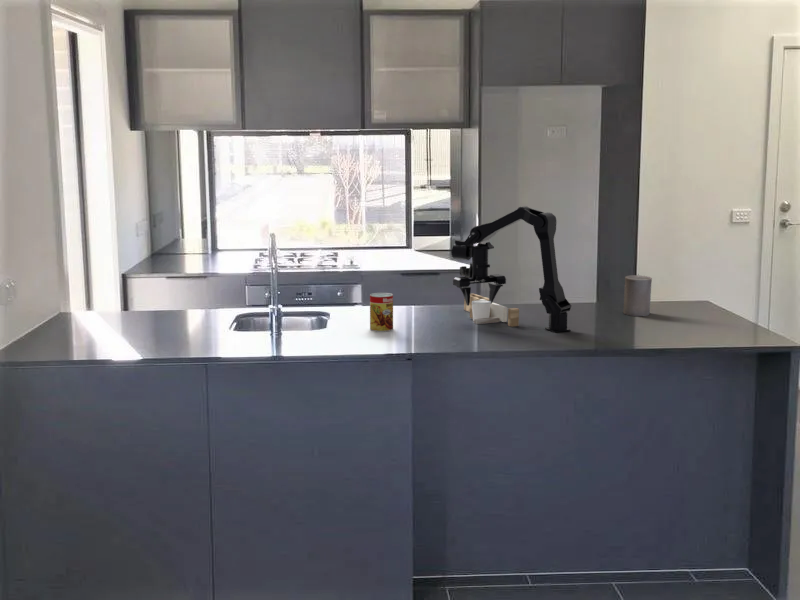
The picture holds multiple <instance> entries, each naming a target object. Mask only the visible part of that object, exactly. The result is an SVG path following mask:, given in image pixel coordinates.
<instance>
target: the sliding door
mask: <svg viewBox="0 0 800 600" xmlns="http://www.w3.org/2000/svg"><path fill="white" fill-rule="evenodd" d="M480 300H484V299H480ZM486 301H487V300H486ZM494 317H498V318H499V322H501V323H502V322H503V323H508V307H507V306H506V305H505V306H504V305H502V304H498V303H496V302H492V304H491V307H490V316H489V318H494ZM469 318H470V319H472V320H473V313H472V308H470V312H469Z"/></svg>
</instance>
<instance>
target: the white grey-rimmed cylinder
mask: <svg viewBox="0 0 800 600" xmlns="http://www.w3.org/2000/svg"><path fill="white" fill-rule="evenodd" d="M490 307H491V302H490V301H486V300H475V301H472V313H473V319H472V322H474V319H483V318H490V317H489V316H490Z"/></svg>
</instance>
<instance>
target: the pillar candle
mask: <svg viewBox="0 0 800 600" xmlns="http://www.w3.org/2000/svg"><path fill="white" fill-rule="evenodd" d="M652 280H653V278H652V277H650V276H648V275H639V273H637V275H636V274H635V275H634V274H633V275H632V274H631V275H626V276H625V277H624V293H623V308H622V309H623V311H622V313H623V314H624V315H627V316H630V317H631V316H632V317H633V316H634V317H647V316H649V315H650V314H651V313H650V312H651V300H652V299H651V296H652V295H651V294H652Z"/></svg>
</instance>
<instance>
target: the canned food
mask: <svg viewBox="0 0 800 600" xmlns="http://www.w3.org/2000/svg"><path fill="white" fill-rule="evenodd" d="M369 330H370V331H373V332H389V331H393V330H394V294H393V293H391V292H372V293H370V294H369Z"/></svg>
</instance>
